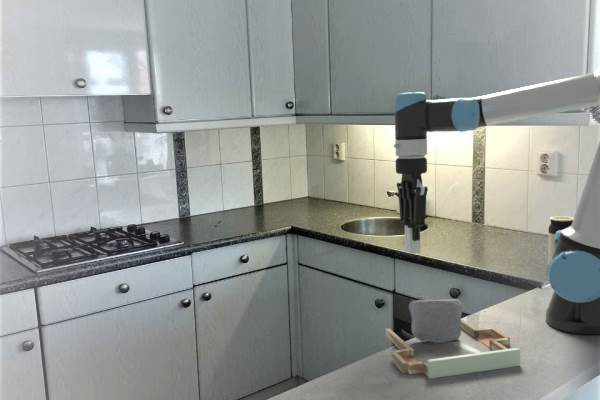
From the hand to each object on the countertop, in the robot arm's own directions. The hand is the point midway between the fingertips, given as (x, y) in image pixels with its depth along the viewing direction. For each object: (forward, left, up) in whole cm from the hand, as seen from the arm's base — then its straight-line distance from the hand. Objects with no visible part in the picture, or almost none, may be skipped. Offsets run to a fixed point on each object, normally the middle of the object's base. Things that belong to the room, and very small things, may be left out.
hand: (412, 251), depth 145 cm
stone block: (0, +12, -19) cm, 22 cm away
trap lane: (0, +18, -18) cm, 26 cm away
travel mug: (-64, -29, -19) cm, 73 cm away
